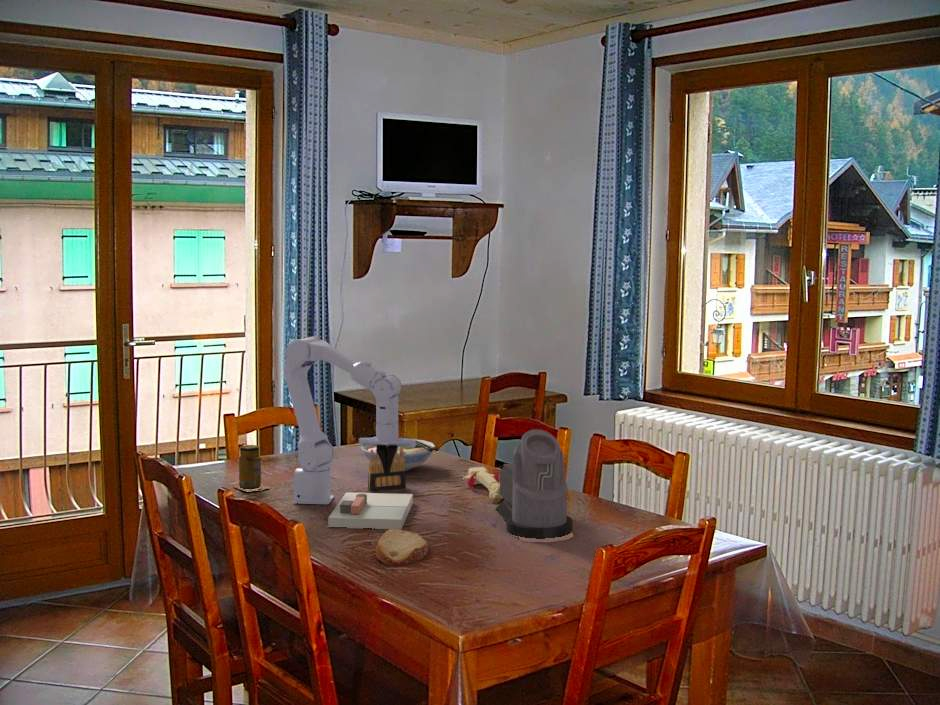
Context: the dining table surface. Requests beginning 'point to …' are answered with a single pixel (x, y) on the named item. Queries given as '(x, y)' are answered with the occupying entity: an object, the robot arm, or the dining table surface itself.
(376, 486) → the ammunition clip
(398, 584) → the dining table surface
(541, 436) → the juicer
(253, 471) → the condiment
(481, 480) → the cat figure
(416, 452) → the ramen bowl
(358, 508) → the bar
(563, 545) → the dining table surface
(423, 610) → the dining table surface
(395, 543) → the bread slice
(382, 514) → the pale square platform
